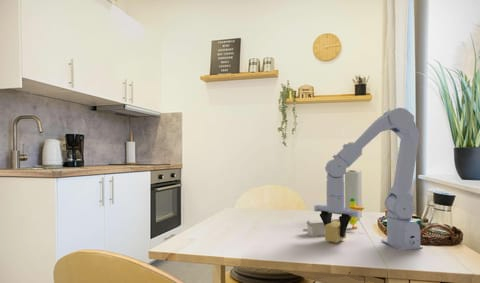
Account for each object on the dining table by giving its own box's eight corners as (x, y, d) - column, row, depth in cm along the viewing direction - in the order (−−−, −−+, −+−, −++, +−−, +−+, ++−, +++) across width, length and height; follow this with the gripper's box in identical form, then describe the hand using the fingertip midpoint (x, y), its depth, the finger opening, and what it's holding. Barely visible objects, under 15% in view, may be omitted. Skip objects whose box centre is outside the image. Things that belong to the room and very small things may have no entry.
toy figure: (364, 228, 121) (364, 198, 121) (363, 230, 118) (363, 199, 118) (346, 226, 124) (346, 196, 124) (345, 228, 121) (345, 198, 121)
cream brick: (330, 235, 111) (330, 221, 111) (311, 237, 109) (311, 223, 109) (324, 232, 115) (324, 219, 115) (307, 233, 113) (306, 220, 113)
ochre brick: (346, 237, 104) (346, 223, 104) (336, 242, 99) (336, 227, 99) (335, 235, 107) (335, 220, 107) (325, 239, 102) (325, 225, 102)
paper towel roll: (345, 219, 135) (345, 171, 135) (344, 216, 140) (344, 170, 140) (362, 220, 132) (362, 171, 132) (361, 217, 138) (361, 170, 138)
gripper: (361, 195, 101) (361, 236, 101) (320, 191, 111) (320, 228, 111) (353, 198, 96) (354, 242, 96) (311, 194, 105) (311, 233, 105)
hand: (335, 235), depth 103 cm, fingers closed on ochre brick, 4 cm apart
